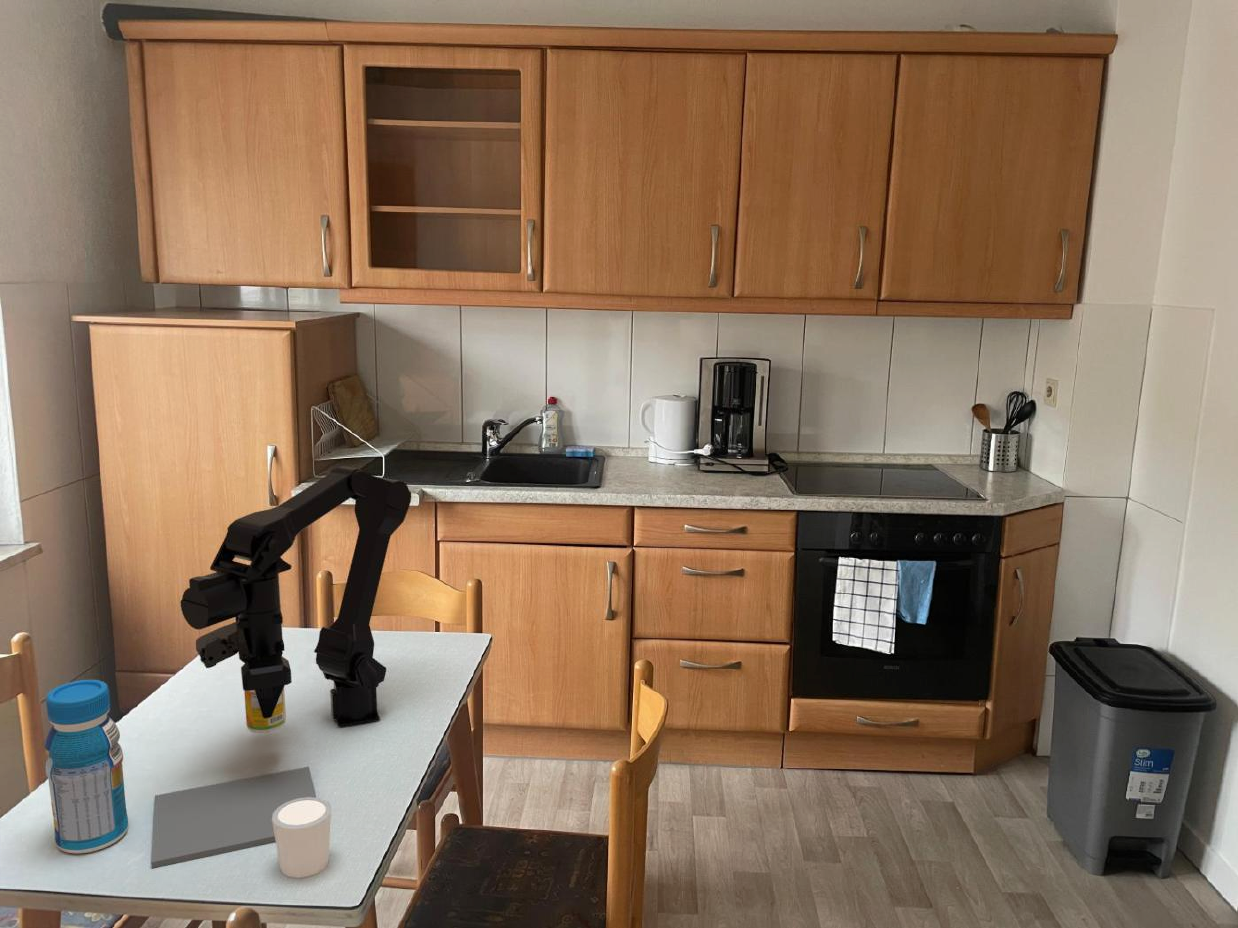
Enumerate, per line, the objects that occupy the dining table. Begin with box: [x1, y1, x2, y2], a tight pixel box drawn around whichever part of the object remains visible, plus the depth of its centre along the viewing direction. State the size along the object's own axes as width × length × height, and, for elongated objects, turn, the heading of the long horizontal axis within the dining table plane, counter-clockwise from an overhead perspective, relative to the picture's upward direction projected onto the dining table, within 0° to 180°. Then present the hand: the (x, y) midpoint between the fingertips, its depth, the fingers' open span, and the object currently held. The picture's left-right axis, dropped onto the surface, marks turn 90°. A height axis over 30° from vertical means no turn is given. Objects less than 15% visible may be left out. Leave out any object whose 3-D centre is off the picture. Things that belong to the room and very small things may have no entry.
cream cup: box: [272, 797, 332, 879], centre depth 116 cm, size 7×7×7 cm
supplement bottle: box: [243, 687, 287, 734], centre depth 138 cm, size 5×5×10 cm
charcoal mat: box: [150, 766, 318, 869], centre depth 126 cm, size 20×16×1 cm
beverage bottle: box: [44, 679, 129, 854], centre depth 119 cm, size 8×8×20 cm
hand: (265, 708), depth 138 cm, fingers closed on supplement bottle, 5 cm apart
